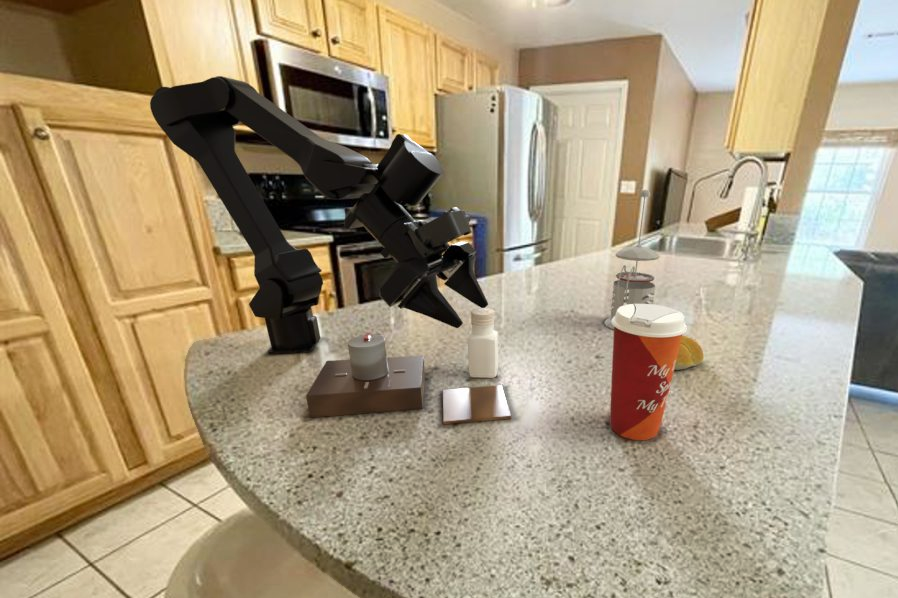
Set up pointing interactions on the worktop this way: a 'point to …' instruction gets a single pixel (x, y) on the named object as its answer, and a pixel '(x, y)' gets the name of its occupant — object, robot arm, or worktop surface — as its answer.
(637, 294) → the french press
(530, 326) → the worktop surface
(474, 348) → the pepper shaker
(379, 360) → the knob
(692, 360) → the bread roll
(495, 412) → the coaster
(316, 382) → the panel
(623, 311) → the paper cup
